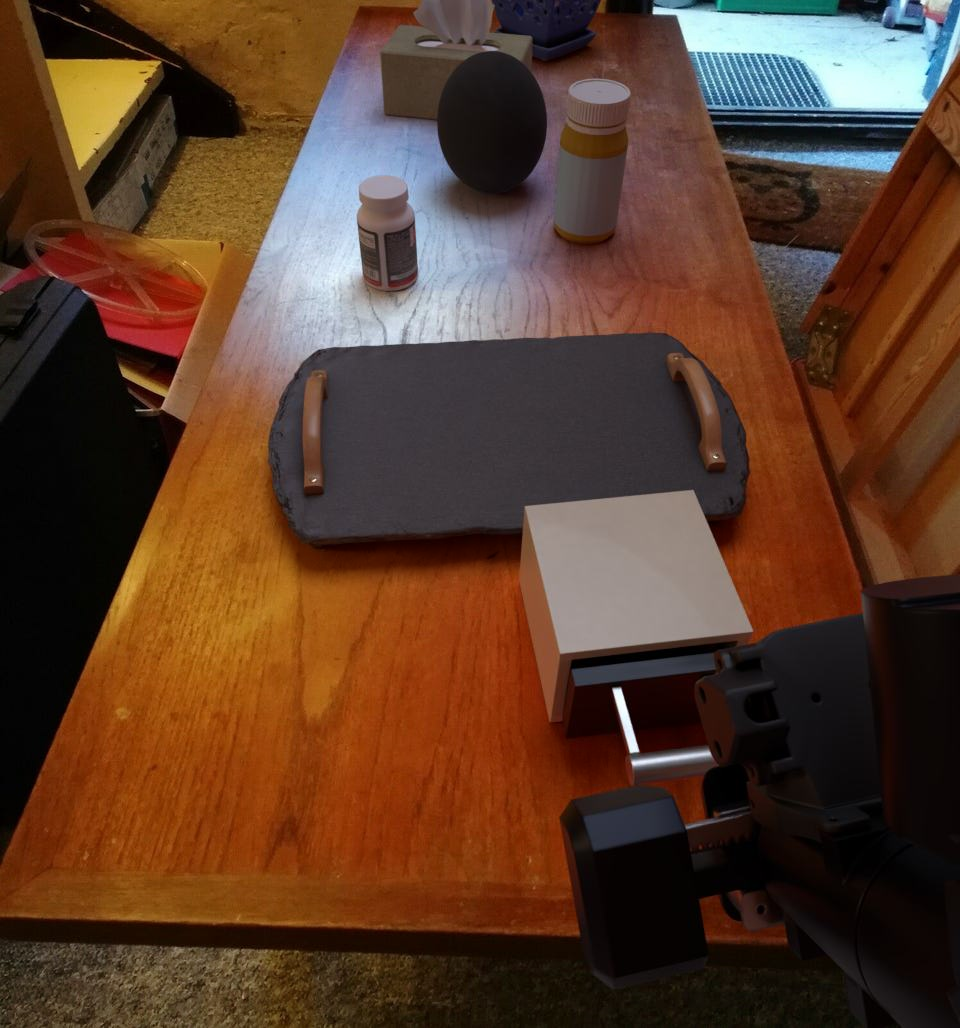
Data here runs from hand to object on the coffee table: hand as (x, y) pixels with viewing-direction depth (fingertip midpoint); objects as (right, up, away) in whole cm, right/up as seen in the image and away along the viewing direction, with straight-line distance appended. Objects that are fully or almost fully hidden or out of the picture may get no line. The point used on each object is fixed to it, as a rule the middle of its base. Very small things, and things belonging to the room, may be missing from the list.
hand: (732, 774), depth 40 cm
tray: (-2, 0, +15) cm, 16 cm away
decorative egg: (-10, +51, +62) cm, 81 cm away
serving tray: (-9, +17, +32) cm, 38 cm away
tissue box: (-15, +68, +77) cm, 104 cm away
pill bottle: (-21, +37, +49) cm, 65 cm away
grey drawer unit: (-2, +4, +20) cm, 20 cm away
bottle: (0, +44, +56) cm, 71 cm away
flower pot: (-2, +84, +92) cm, 125 cm away
